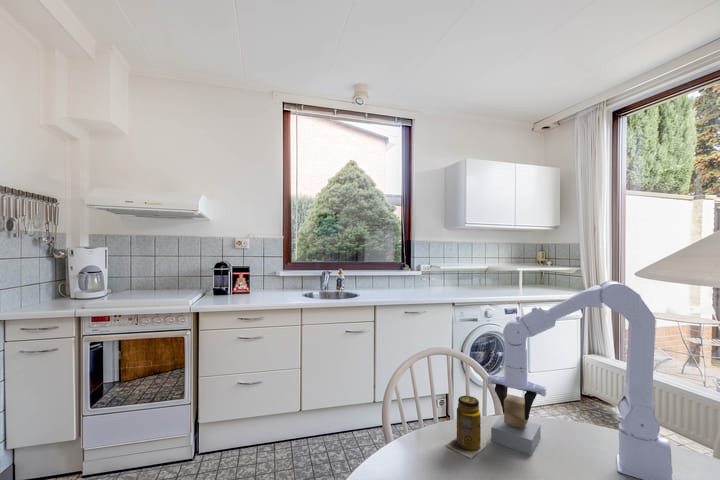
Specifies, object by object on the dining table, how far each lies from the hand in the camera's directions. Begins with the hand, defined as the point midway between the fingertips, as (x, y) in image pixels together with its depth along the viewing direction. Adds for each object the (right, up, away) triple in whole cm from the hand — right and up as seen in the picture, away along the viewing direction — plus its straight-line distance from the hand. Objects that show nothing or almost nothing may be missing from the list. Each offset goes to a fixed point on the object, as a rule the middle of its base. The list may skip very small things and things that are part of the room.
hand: (516, 415), depth 93 cm
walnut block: (0, -2, 0) cm, 2 cm away
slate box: (0, -7, 0) cm, 7 cm away
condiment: (-15, -7, -3) cm, 16 cm away
